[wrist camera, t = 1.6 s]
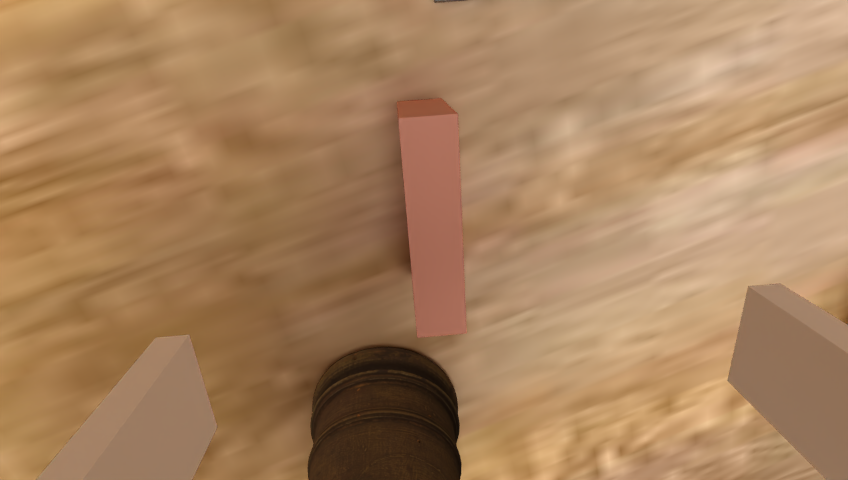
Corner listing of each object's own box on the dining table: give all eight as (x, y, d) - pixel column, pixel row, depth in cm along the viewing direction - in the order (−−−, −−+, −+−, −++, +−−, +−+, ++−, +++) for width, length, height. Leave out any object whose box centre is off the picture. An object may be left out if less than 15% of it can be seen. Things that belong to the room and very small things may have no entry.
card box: (411, 273, 27) (417, 338, 21) (396, 101, 23) (398, 118, 17) (450, 270, 27) (467, 333, 21) (441, 98, 23) (458, 113, 17)
